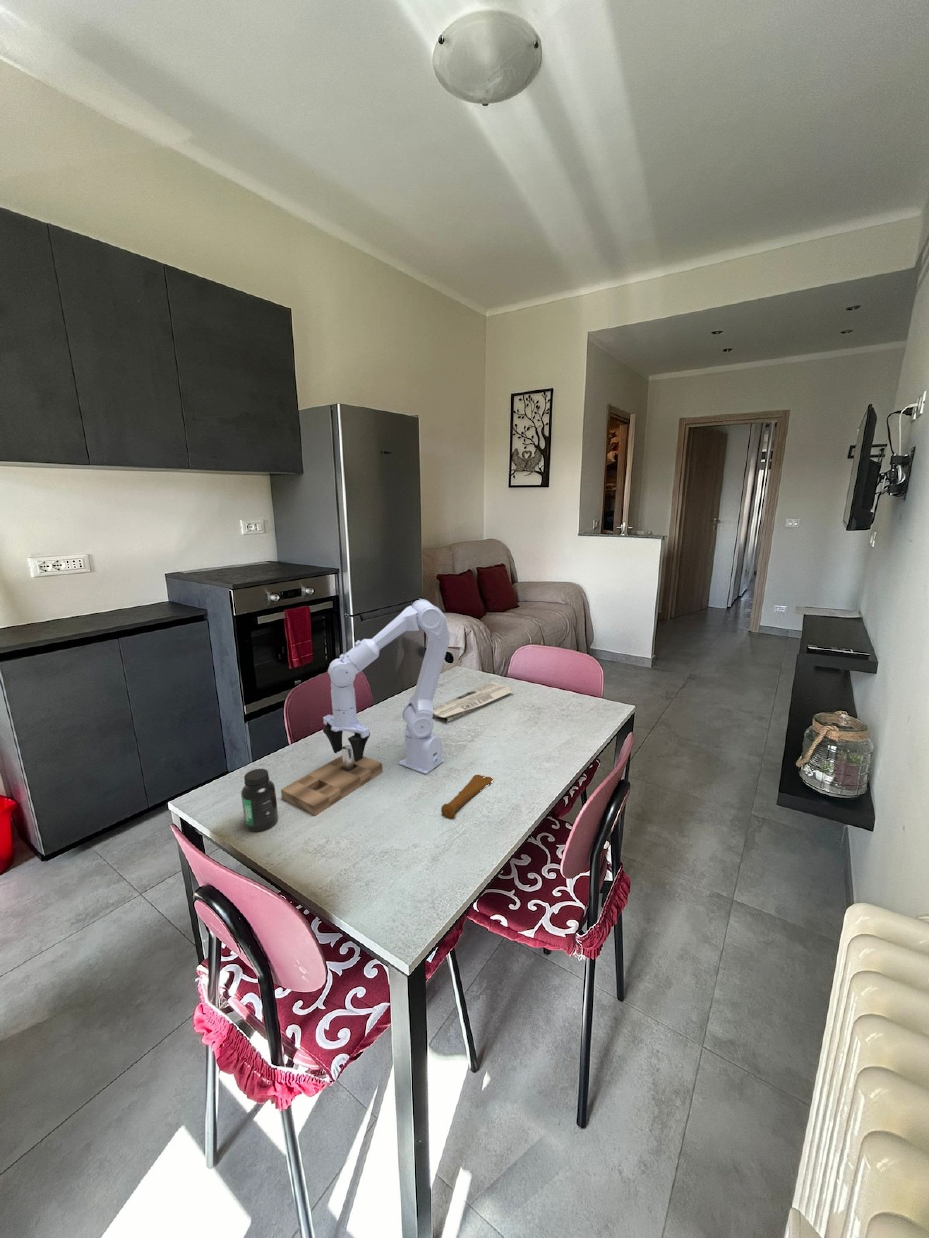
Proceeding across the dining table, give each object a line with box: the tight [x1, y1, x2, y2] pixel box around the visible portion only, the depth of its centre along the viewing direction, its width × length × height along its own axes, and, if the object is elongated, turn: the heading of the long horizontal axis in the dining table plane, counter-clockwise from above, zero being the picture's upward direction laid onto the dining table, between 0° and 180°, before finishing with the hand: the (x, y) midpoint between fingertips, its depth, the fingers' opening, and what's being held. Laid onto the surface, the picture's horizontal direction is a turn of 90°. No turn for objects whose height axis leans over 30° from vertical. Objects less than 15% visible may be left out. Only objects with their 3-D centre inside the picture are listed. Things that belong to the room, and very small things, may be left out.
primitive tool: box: [440, 774, 494, 819], centre depth 118 cm, size 19×6×4 cm, turn 153°
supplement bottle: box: [240, 768, 279, 833], centre depth 108 cm, size 7×7×12 cm
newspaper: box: [433, 682, 514, 723], centre depth 170 cm, size 35×12×4 cm, turn 139°
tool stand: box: [280, 754, 384, 817], centre depth 123 cm, size 12×22×2 cm, turn 146°
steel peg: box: [341, 744, 354, 772], centre depth 127 cm, size 3×3×8 cm
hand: (348, 755), depth 126 cm, fingers open, 7 cm apart
